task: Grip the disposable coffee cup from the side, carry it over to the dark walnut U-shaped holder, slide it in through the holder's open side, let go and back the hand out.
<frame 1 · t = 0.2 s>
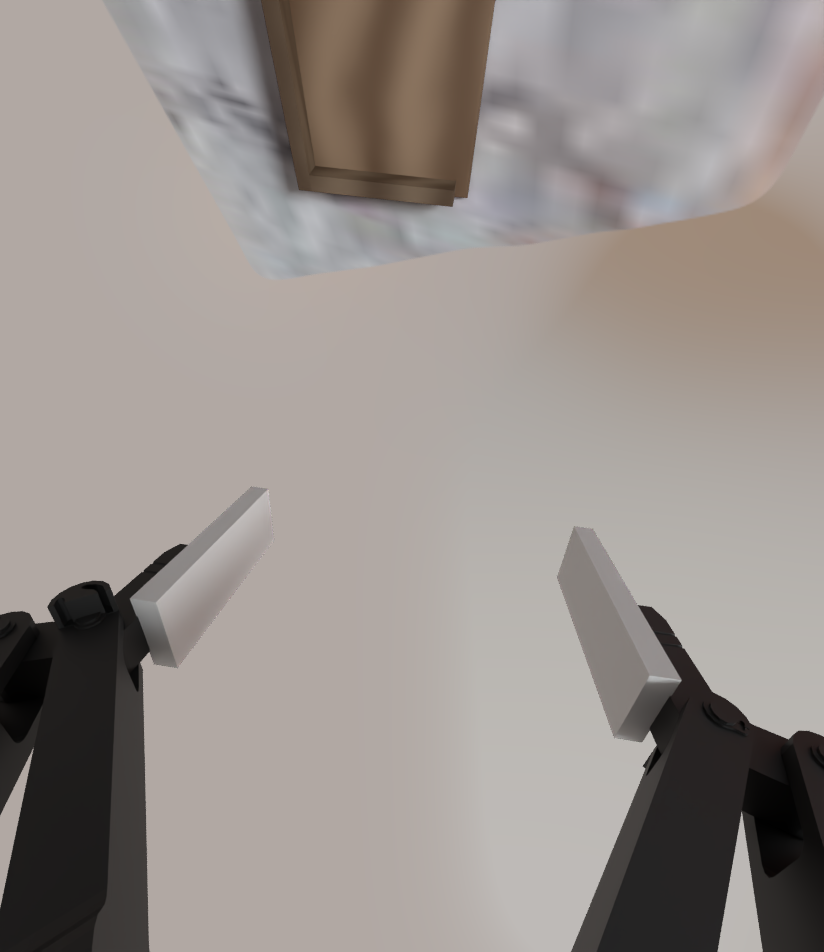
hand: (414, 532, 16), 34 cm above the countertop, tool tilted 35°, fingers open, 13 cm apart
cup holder: (383, 65, 28), on the countertop
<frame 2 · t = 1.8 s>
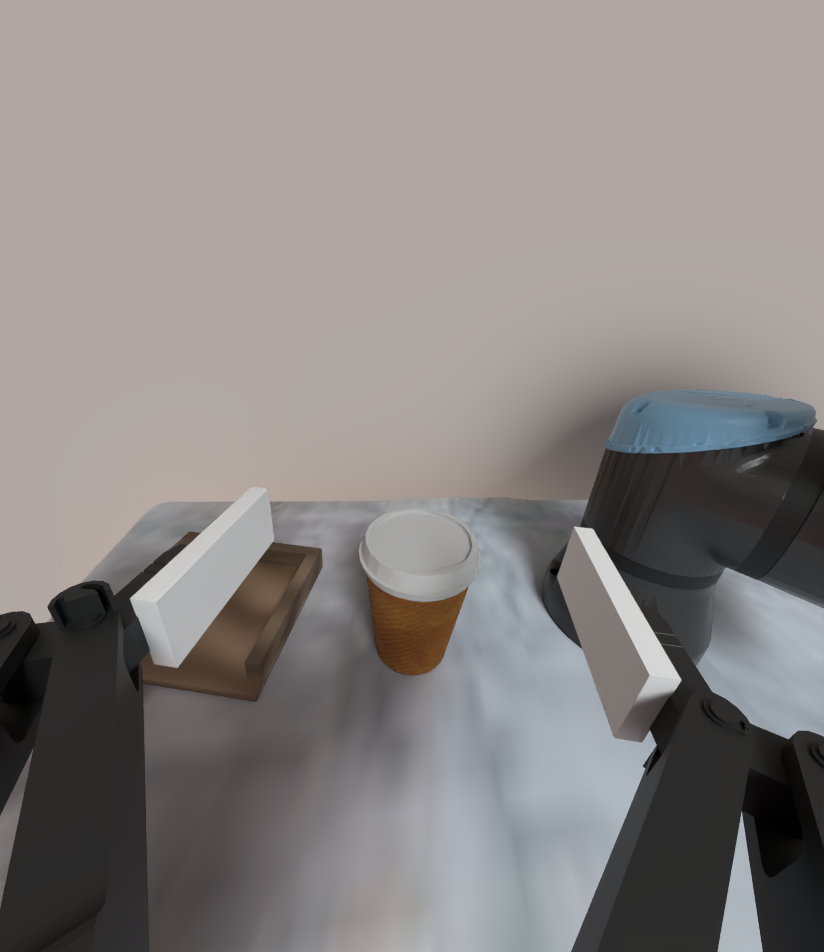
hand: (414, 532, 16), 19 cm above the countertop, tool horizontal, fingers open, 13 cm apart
disposable coffee cup: (410, 645, 33), on the countertop
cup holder: (218, 609, 35), on the countertop
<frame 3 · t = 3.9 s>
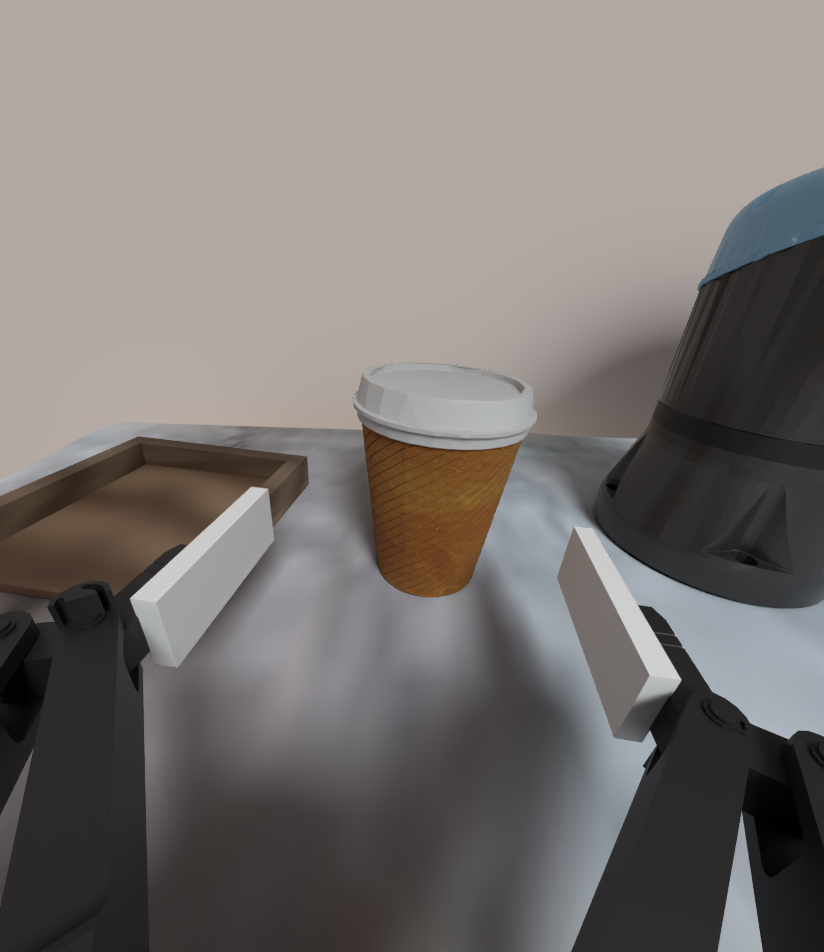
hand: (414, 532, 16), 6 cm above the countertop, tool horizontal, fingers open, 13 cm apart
disposable coffee cup: (425, 564, 24), on the countertop
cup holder: (163, 519, 26), on the countertop
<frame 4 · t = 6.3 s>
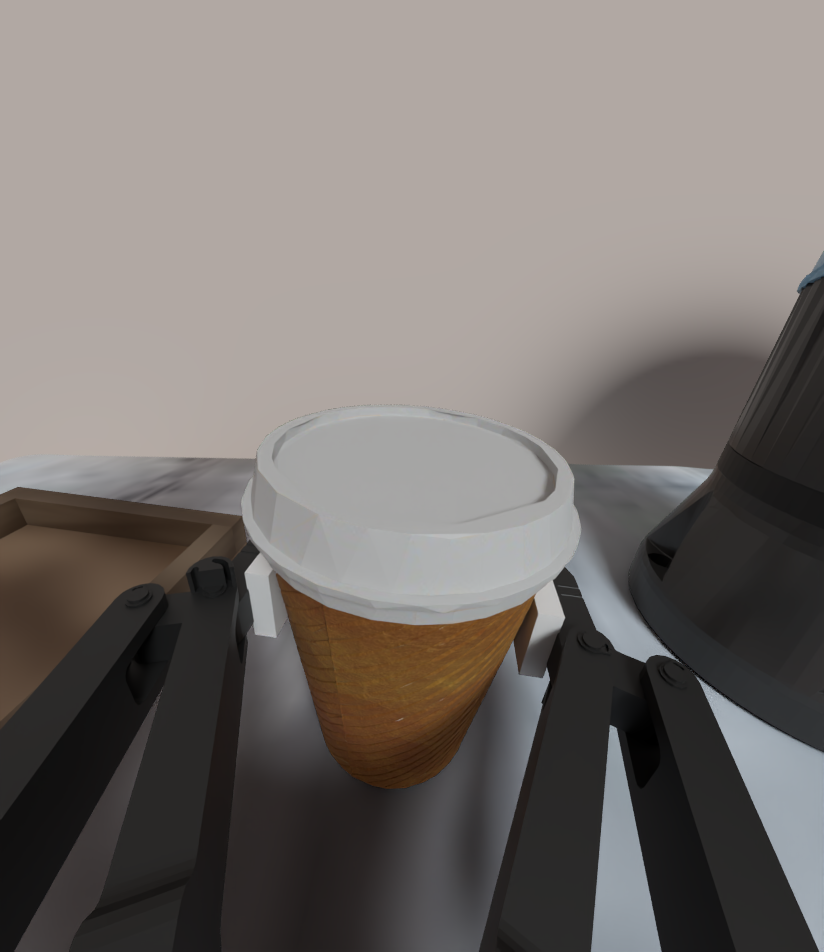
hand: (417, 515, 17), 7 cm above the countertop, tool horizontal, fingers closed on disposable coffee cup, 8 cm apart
disposable coffee cup: (394, 704, 16), on the countertop, touching gripper
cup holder: (14, 626, 18), on the countertop
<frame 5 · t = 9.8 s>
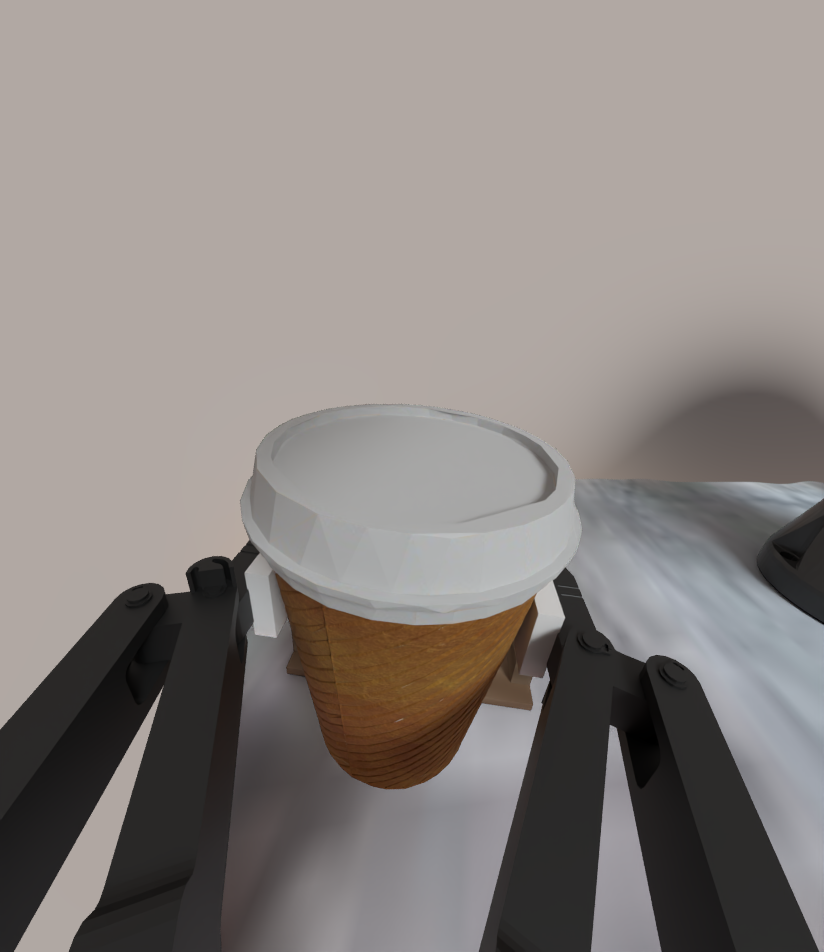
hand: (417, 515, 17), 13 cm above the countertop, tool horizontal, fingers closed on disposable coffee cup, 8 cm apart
disposable coffee cup: (394, 704, 16), point 6 cm above the countertop, touching gripper
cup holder: (418, 599, 30), on the countertop
when the fingers open (8 cm above the countertop, at t = 13.8 s): disposable coffee cup moves 2 cm, resting on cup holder.
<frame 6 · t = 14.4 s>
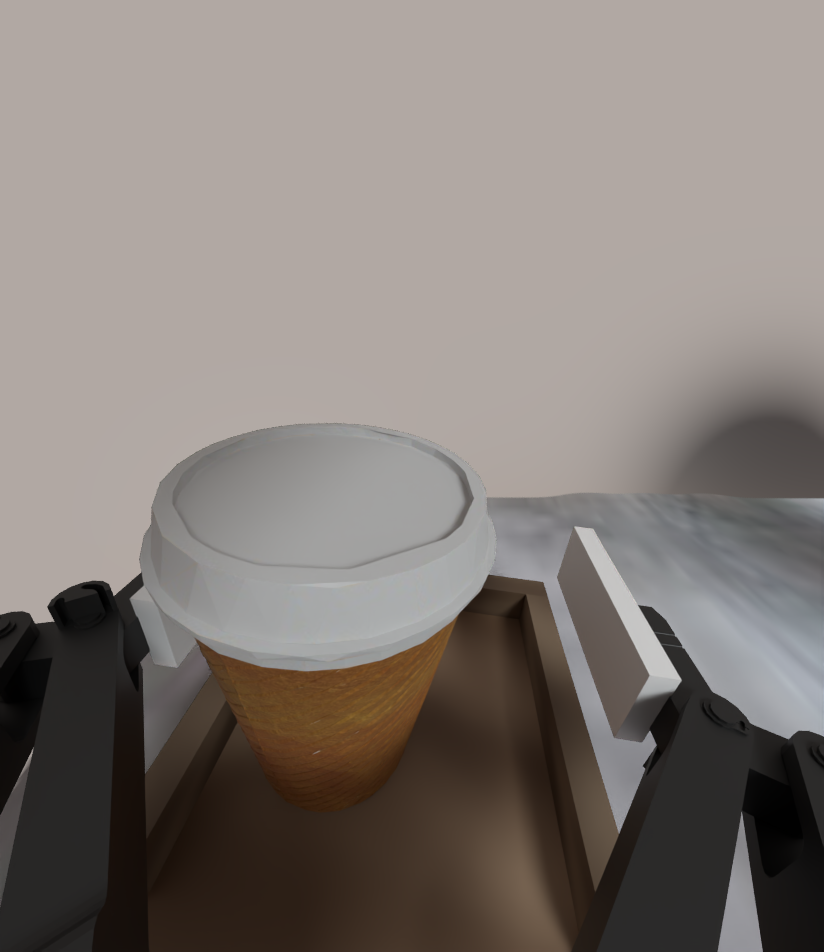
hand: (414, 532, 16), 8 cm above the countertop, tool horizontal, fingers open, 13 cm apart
disposable coffee cup: (337, 722, 16), resting on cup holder, touching gripper
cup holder: (393, 721, 16), on the countertop
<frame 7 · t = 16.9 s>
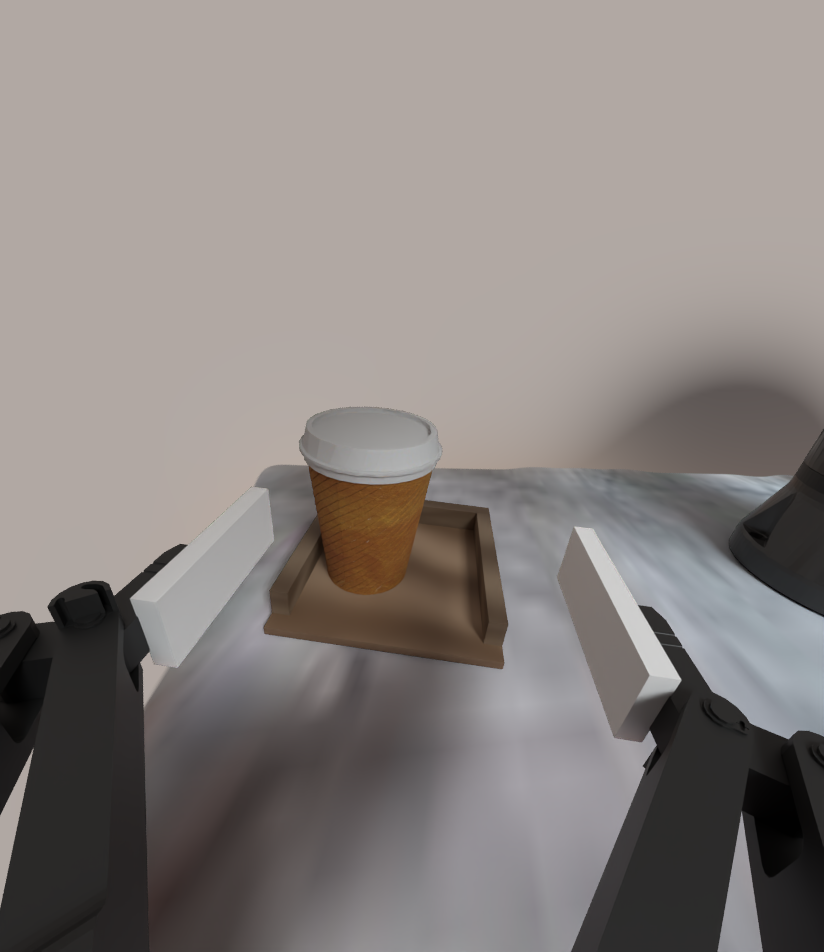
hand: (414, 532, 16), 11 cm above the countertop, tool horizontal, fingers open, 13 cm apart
disposable coffee cup: (367, 568, 29), resting on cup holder
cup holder: (397, 570, 30), on the countertop
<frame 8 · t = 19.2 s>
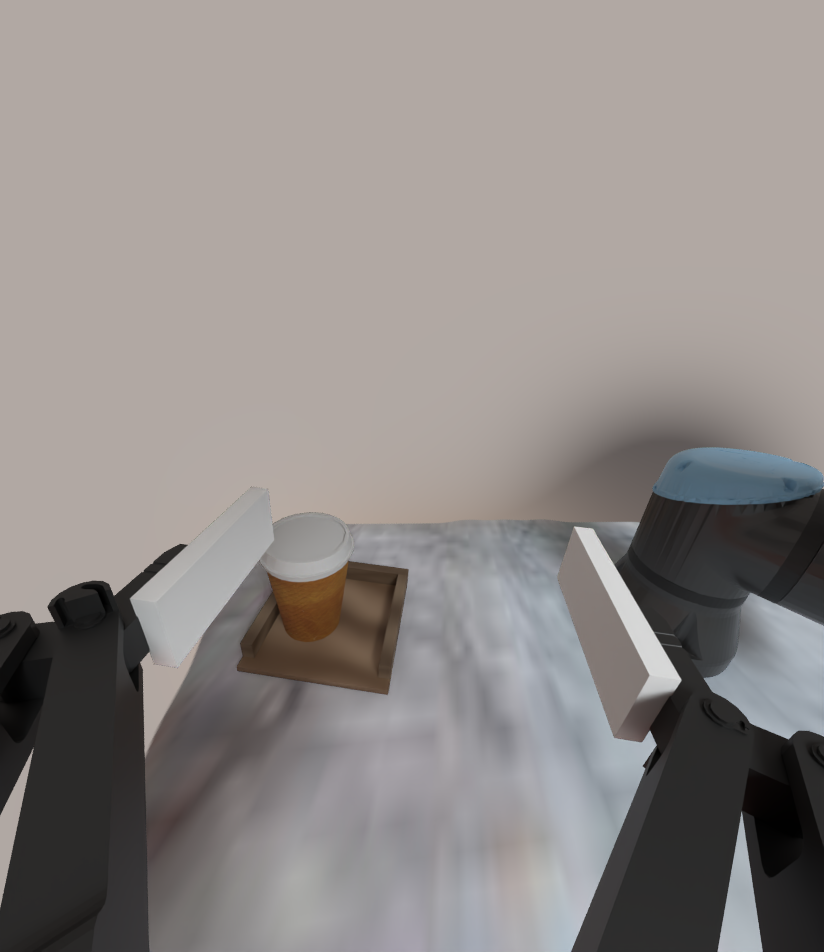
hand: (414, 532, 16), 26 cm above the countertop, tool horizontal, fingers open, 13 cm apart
disposable coffee cup: (312, 620, 42), resting on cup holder
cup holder: (334, 621, 43), on the countertop
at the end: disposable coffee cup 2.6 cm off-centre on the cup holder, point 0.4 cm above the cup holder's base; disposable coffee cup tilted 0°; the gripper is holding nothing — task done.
